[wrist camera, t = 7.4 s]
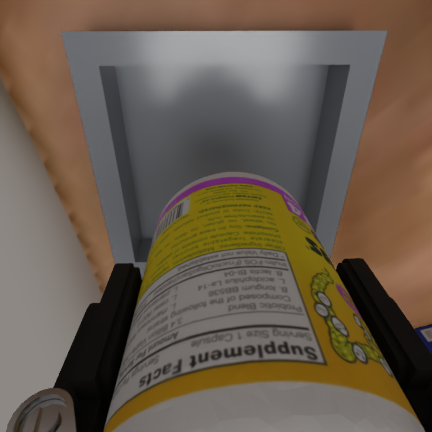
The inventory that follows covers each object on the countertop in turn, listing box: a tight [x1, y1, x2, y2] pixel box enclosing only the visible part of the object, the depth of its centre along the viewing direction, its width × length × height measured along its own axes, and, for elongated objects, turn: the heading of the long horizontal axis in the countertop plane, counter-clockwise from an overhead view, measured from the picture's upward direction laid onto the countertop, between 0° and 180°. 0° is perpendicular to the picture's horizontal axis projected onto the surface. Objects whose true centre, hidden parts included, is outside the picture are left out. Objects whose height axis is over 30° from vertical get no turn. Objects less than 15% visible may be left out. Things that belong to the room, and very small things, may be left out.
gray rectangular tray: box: [61, 31, 387, 278], centre depth 21 cm, size 16×16×4 cm
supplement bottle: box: [103, 172, 425, 432], centre depth 8 cm, size 7×7×13 cm
